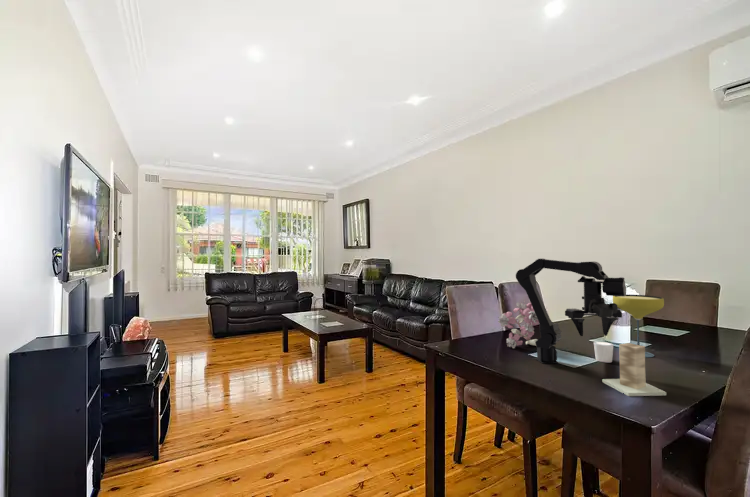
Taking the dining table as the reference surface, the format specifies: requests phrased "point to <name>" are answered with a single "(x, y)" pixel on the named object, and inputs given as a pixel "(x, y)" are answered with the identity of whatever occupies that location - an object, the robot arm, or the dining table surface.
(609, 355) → the shot glass
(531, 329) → the flower
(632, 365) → the birch block
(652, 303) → the cocktail glass
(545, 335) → the robot arm
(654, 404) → the dining table surface
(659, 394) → the coaster board
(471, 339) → the dining table surface
